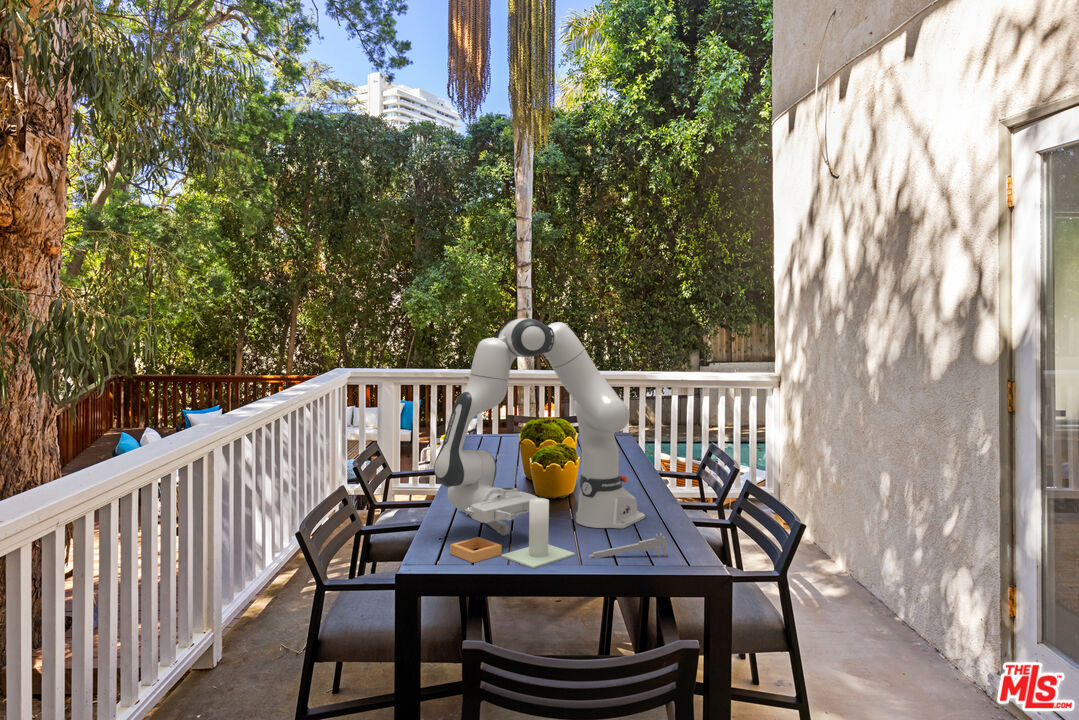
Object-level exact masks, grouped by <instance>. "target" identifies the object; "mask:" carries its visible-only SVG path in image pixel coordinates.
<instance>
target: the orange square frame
mask: <svg viewBox="0 0 1079 720" xmlns="http://www.w3.org/2000/svg"><path fill="white" fill-rule="evenodd" d="M449 546H450V547H449V548H450V549H449V555H453V556H455V557H458V558H459V559H463V560H464V561H468V562H470V563H473V564H474V563H478V562H480V561H484V560H487V559H488V560H489V559H491V558H495V557H498V556H501V555H502V544H499V543H497V542H494V541H491V540H488V539H486V538H482V537H479V536H477V537H472V538H470V539H465V540H462V541H457V542H454V543H451V544H449ZM475 549H476V550H475Z"/></svg>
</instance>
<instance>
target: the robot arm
mask: <svg viewBox="0 0 1079 720" xmlns="http://www.w3.org/2000/svg"><path fill="white" fill-rule="evenodd" d="M540 355H543V356H544V357H545V359H547V361H548V363H549V364H550V366H551V368H552V370H553V371H554V373H555V374H556V376H557V378H558V380H559V381H560V382H561V384H562V386H563V387H564V389H565V390H566V392H568V394H569V395H570V396H571V397H572V398H573V399H574V401H575V403H574V406H573V407H574V409H573V410H574V413H575V416H576V419H577V426H578V432H579V439H580V445H581V474H580V476H579V477H580V478H579V486H580V490H579V496H578V505H577V511H576V512H575V522H576V523H577V524H578V525H581V526H584V527H588V528H594V529H595V528H596V529H624V528H627V527H629V526H632V525H633V524H635V523H637V522H640V521H641V520H644V519H645V518H646V515H645V513H643V512H641V511H639V510H638V502H637V499H636V497H635V496H634V495H632V494H631V493H630V492H629V491H628V490H627V489H625V488H624V487H623V483H628V481H629V477H628V475H623V474H621V475H620V474H619V471H620V470H619V469H620V467H619V466H620V465H619V464H620V463H619V462H620V461H619V460H620V459H619V457H620V450H619V446H618V444H617V441H616V438H615V433H619V432H621V431H623V430H624V429H625V427H627V425H628V424H629V421H630V409H629V408H628V405H627V404H626V403H625V401H623V400H622V399H621V398H620V396H619V395H618V394H617V392H616V391H615V389H614V388H613V387H612V386H611V385H610V383H609V382H608V381H607V379H606V378H605V377H604V376H603V375H602V374H601V372H600V371H599V369H598V368H597V366H596V364H595V363H594V362H593V360H592V359H591V356H590V355H589V354H588V351H587V350H586V348H585V347H584V346H583V344H582V342H581V341H580V339H579V338H578V336H577V335H576V334H575V333H574V331H573V330H572V329H571V328H570V327H569V326H568V325H567V324H566V323H564V322H562V321H559V322H558V321H557V322H556V321H555V322H552V323H549V324H548V325H546V324H544V323H543V322H541V321H539V320H537V319H534V318H526V317H522V318H521V317H520V318H516V319H512V320H509V321H508V322H507V323H505V324H504V325H503V326H502V328H501V329H500V331H499V332H497V334H496V335H495V336H494V337H487V338H483V339H482V340H480V341H479V343H478V344H477V347H476V350H475V353H474V356H473V359H472V363H471V367H470V375H469V379H468V382H467V385H466V386H465V388H464V390H463V391H462V393H461V394H459V395H458V396H457V398H456V400H455V403H454V404H453V408H452V411H451V414H450V418H449V421H448V424H447V428H446V430H445V434H444V438H443V441H442V445H441V447H440V450H439V452H438V454H437V456H436V457H435V461H434V465H433V471H434V476H435V477H436V479H437V480H438V482H439V483H441V484H442V485H443V486H444V487H446V488H447V487H448V488H447V500H448V501H449V503H450V504H451V505H452V506H453V507H454V508H456V509H458V510H459V511H461V512H464V513H465V514H466V513H468V514H471V516H470V517H471V519H473V520H475V521H478V522H480V523H483V524H487V523H488V522H492V521H496V520H501V521H503V520H505V521H507V522H508V521H511V520H514V518H515V516H519V515H524V514H529V503H530V499H533V498H539V497H538V496H537V495H534V494H531V493H528V492H525V491H521V490H520V491H518V488H516V487H496V486H494V483H495V481H496V477H497V471H498V470H497V463H496V460H495V458H494V456H493V454H491V452H490V451H488V450H486V449H485V450H483V449H482V450H480V449H478V450H477V449H474V450H473V449H470V450H466V449H465V450H463V448H464V444H465V440H466V437H467V433H468V430H469V426H470V424H471V422H472V420H473V419H474V418H476V417H477V416H478V415H480V414H481V413H483V412H486V411H489V410H490V409H494V408H495V407H497V406H498V405H500V404H501V403H502V402H503V401H504V399H505V397H506V395H507V392H508V385H509V382H510V381H509V379H510V373H511V372H510V371H511V367H512V364H513V363H514V360H516V359H517V358H519V357H520V358H526V357H527V358H533V357H537V356H540Z"/></svg>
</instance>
